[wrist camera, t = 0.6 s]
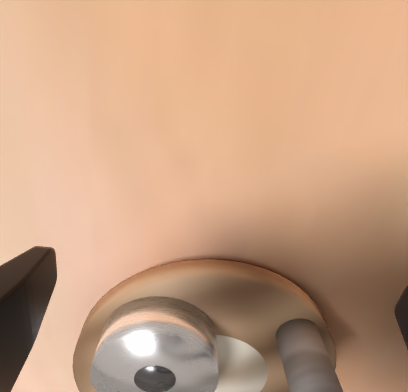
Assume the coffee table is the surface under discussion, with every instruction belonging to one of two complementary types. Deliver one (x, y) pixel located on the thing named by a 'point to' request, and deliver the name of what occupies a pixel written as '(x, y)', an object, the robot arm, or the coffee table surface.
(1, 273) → the robot arm
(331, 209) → the coffee table surface
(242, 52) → the coffee table surface
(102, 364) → the cover
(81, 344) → the turntable
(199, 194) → the coffee table surface
